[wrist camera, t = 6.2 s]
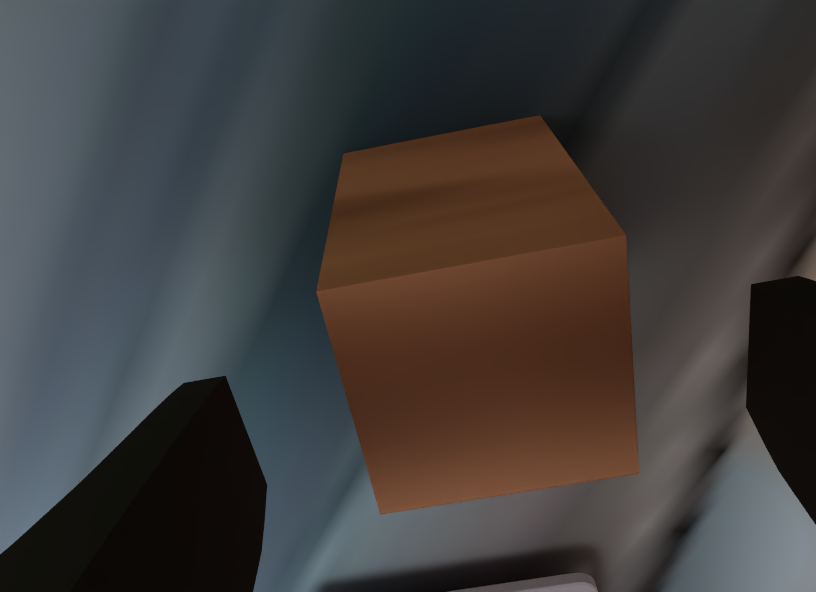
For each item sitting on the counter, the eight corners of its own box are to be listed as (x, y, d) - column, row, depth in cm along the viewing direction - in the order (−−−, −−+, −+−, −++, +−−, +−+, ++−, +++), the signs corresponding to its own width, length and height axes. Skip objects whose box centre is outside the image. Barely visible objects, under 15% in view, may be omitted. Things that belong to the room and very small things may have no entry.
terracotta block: (558, 289, 16) (639, 473, 11) (383, 320, 17) (380, 514, 11) (539, 114, 14) (626, 235, 9) (343, 153, 15) (316, 291, 9)
